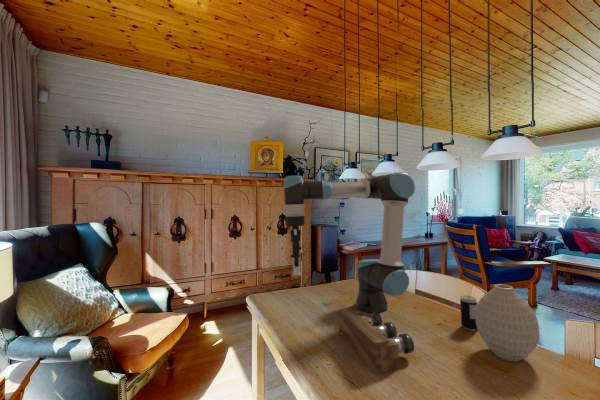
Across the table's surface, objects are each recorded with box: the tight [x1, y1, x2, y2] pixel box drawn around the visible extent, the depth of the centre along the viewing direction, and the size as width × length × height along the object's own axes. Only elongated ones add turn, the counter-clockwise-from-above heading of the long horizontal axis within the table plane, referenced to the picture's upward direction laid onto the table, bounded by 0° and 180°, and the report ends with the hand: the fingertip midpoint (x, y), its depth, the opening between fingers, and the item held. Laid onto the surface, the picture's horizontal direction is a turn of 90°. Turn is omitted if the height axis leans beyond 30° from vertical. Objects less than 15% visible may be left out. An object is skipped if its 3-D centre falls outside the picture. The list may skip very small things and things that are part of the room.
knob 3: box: [388, 333, 415, 355], centre depth 83 cm, size 9×6×6 cm, turn 105°
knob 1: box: [360, 312, 383, 326], centre depth 101 cm, size 9×6×6 cm, turn 105°
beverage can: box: [459, 295, 478, 332], centre depth 102 cm, size 6×6×12 cm
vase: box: [475, 283, 540, 363], centre depth 84 cm, size 16×16×22 cm
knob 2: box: [373, 321, 398, 339], centre depth 92 cm, size 9×6×6 cm, turn 105°
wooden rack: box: [338, 307, 400, 375], centre depth 90 cm, size 8×27×9 cm, turn 15°
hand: (297, 270), depth 100 cm, fingers open, 13 cm apart
